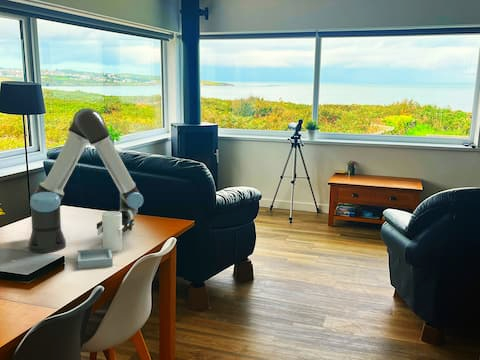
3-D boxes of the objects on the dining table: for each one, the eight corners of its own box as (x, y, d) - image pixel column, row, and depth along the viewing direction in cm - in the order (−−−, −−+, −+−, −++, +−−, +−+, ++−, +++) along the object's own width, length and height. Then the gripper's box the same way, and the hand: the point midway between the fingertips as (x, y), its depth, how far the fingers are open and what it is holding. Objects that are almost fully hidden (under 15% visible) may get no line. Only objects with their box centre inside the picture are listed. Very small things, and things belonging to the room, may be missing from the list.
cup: (114, 244, 210) (114, 210, 207) (126, 248, 205) (125, 213, 202) (99, 248, 204) (98, 213, 201) (110, 253, 198) (109, 217, 195)
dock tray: (78, 268, 180) (77, 261, 180) (77, 257, 192) (77, 250, 192) (112, 265, 185) (112, 258, 184) (110, 254, 197) (110, 247, 196)
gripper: (145, 226, 221) (133, 241, 198) (101, 224, 221) (84, 239, 199) (144, 211, 219) (133, 224, 197) (100, 209, 219) (84, 222, 197)
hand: (109, 232), depth 198 cm, fingers closed on cup, 8 cm apart
